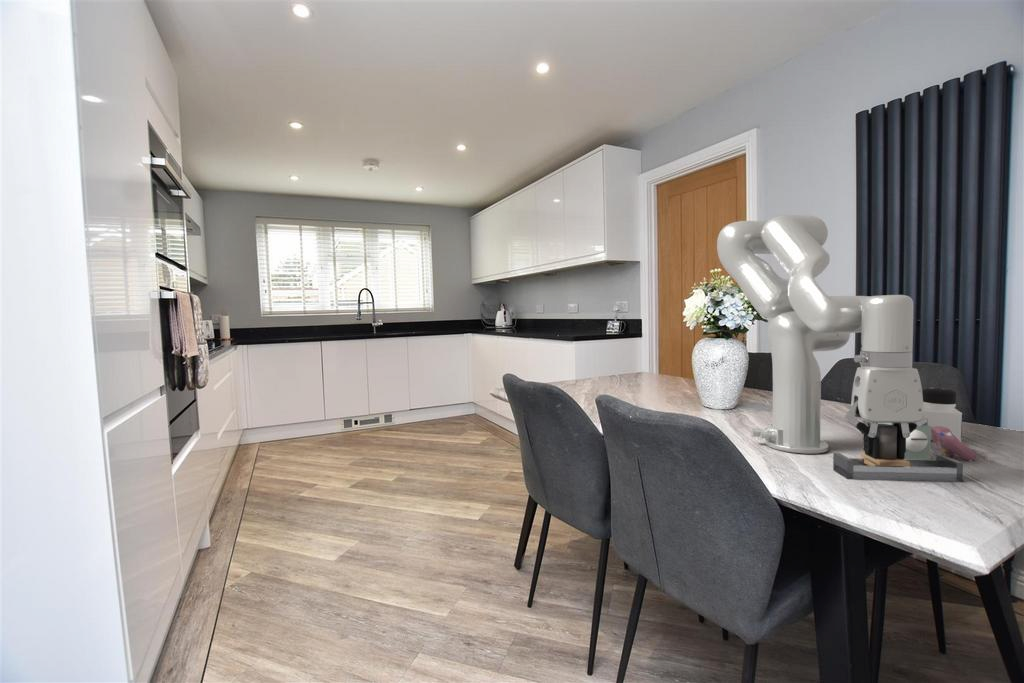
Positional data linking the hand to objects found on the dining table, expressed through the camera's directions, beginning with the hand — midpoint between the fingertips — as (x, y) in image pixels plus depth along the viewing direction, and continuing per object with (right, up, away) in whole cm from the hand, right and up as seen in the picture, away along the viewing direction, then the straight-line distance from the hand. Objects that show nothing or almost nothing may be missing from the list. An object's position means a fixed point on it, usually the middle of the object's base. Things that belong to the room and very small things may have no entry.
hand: (884, 455), depth 88 cm
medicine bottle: (+33, -2, +24) cm, 41 cm away
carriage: (0, -2, 0) cm, 2 cm away
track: (+2, -4, 0) cm, 4 cm away
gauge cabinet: (+11, -3, +9) cm, 14 cm away
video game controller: (+24, -3, +12) cm, 27 cm away
